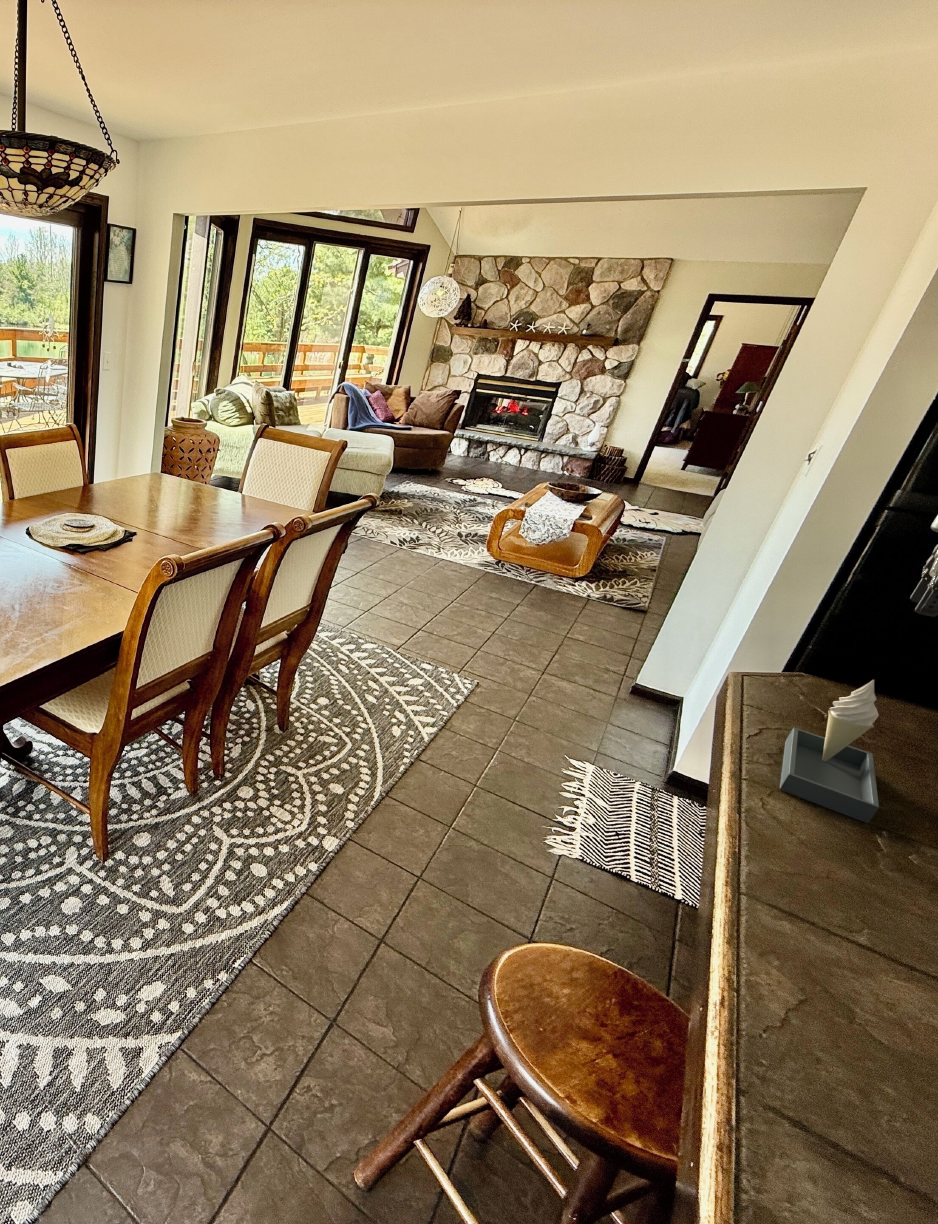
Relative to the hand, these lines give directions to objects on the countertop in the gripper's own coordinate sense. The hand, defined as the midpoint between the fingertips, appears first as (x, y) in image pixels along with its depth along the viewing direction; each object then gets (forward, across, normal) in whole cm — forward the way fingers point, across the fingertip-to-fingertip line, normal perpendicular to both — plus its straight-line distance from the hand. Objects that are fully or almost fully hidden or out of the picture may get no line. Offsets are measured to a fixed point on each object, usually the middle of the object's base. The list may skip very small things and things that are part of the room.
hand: (921, 608), depth 97 cm
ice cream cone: (+26, -8, +1) cm, 27 cm away
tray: (+26, -14, +1) cm, 30 cm away
